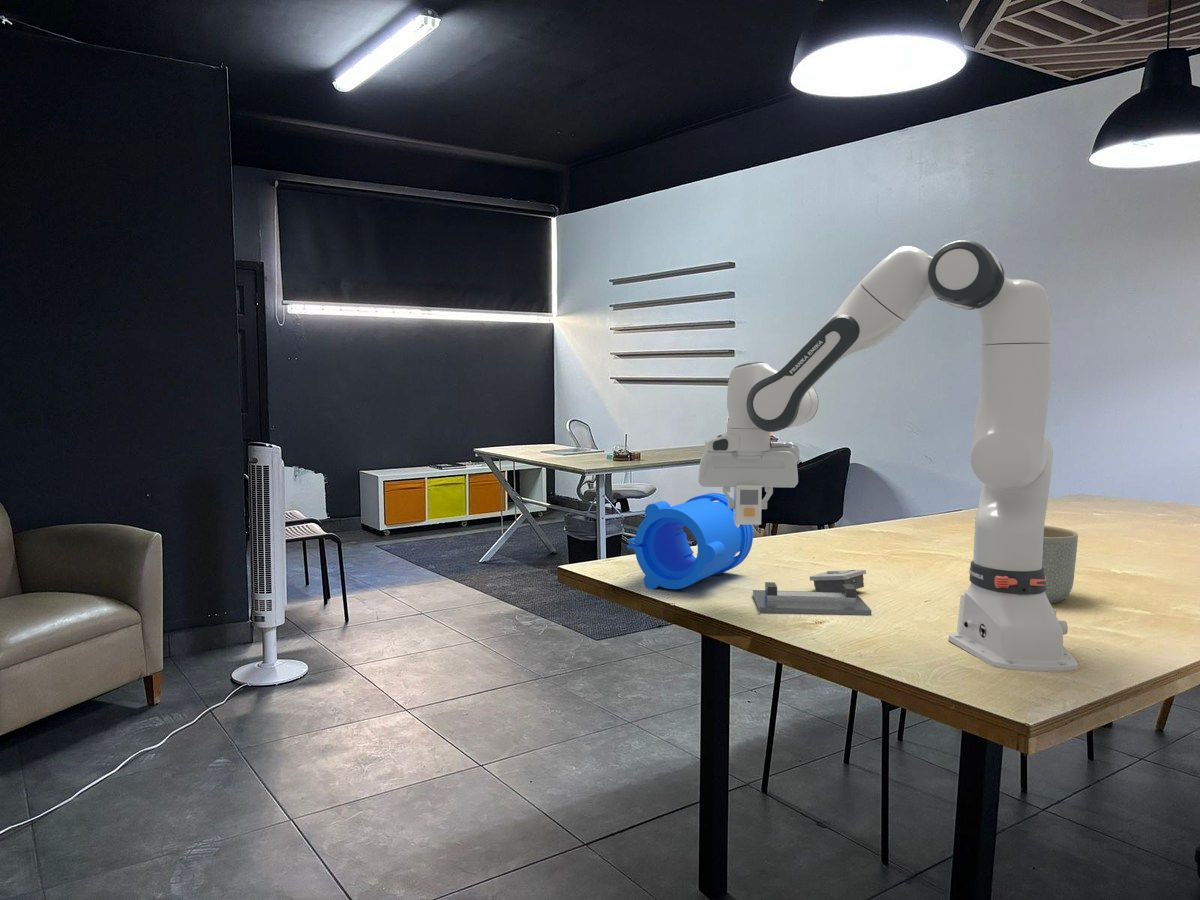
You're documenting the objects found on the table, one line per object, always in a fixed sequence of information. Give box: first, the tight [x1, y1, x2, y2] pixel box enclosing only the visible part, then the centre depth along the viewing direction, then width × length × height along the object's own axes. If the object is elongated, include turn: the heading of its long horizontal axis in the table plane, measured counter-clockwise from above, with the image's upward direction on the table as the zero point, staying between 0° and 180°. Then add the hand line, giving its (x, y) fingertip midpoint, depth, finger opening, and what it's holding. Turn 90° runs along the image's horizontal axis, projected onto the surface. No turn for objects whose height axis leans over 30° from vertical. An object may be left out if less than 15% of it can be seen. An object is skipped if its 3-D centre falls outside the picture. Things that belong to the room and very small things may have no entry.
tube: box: [626, 492, 754, 590], centre depth 201 cm, size 25×22×19 cm
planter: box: [1042, 525, 1079, 605], centre depth 186 cm, size 17×17×15 cm
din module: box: [733, 484, 763, 526], centre depth 177 cm, size 8×5×8 cm, turn 176°
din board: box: [752, 581, 872, 616], centre depth 179 cm, size 14×22×4 cm, turn 86°
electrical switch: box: [809, 569, 867, 592], centre depth 190 cm, size 9×5×9 cm
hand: (747, 508), depth 177 cm, fingers closed on din module, 5 cm apart
